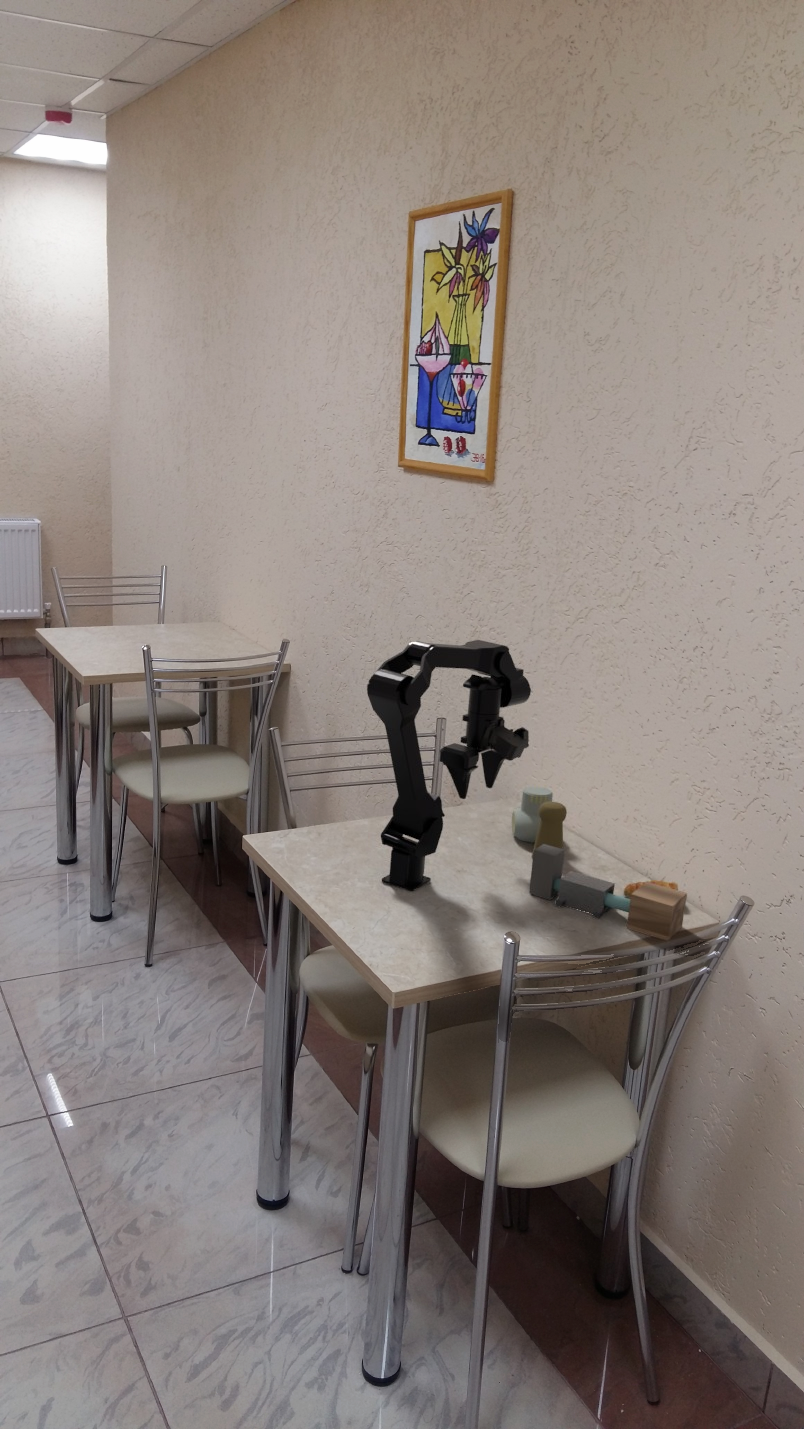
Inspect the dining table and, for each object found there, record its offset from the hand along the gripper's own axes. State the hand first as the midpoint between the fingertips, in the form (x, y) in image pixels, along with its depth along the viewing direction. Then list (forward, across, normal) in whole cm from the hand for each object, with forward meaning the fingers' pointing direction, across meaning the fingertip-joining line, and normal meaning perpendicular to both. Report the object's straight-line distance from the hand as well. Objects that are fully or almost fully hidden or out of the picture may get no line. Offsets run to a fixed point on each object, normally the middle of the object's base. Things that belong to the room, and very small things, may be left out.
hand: (476, 793), depth 203 cm
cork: (+13, +11, -11) cm, 20 cm away
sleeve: (+13, -4, -26) cm, 29 cm away
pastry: (+13, +7, -34) cm, 37 cm away
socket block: (+13, -4, -38) cm, 41 cm away
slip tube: (+13, -4, -28) cm, 31 cm away
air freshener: (+13, +18, -3) cm, 23 cm away
